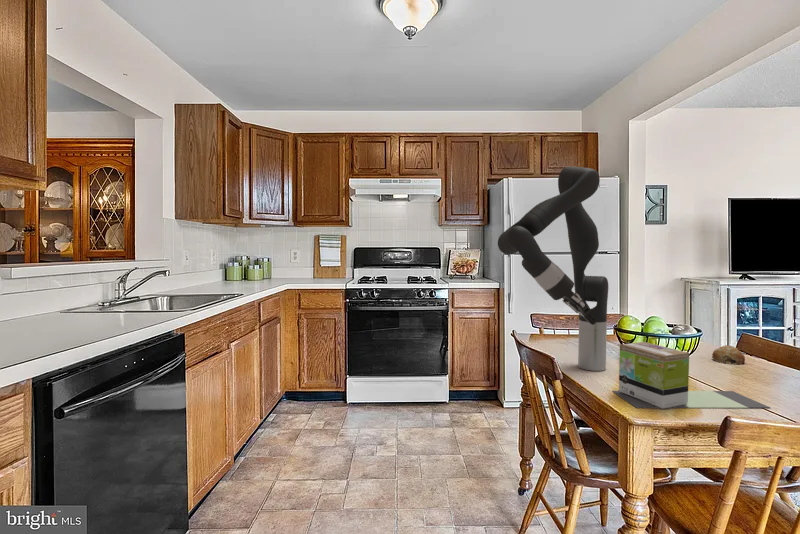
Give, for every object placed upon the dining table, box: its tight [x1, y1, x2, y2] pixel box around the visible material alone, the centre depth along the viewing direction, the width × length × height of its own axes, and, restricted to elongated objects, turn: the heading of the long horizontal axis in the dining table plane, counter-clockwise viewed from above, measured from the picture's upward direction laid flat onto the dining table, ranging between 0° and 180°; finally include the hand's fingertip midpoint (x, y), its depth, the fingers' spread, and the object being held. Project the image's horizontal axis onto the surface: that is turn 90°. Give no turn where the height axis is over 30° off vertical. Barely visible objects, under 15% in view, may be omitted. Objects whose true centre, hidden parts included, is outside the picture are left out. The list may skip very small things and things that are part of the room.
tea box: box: [618, 341, 690, 409], centre depth 129 cm, size 15×10×15 cm
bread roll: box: [711, 345, 746, 365], centre depth 172 cm, size 10×10×8 cm
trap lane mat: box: [612, 390, 771, 410], centre depth 129 cm, size 14×36×1 cm, turn 90°
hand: (594, 322), depth 132 cm, fingers closed
